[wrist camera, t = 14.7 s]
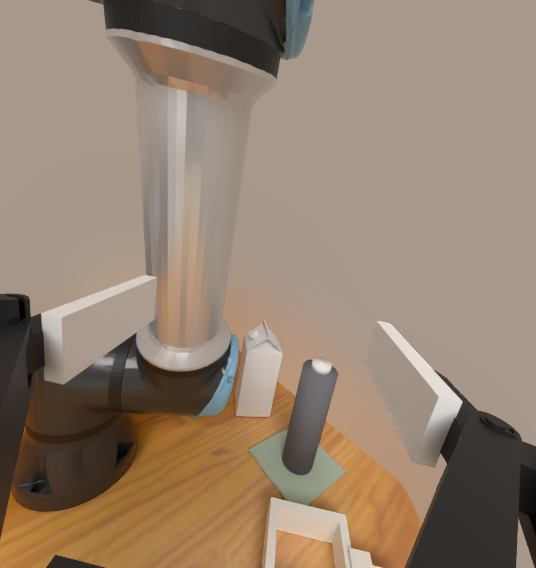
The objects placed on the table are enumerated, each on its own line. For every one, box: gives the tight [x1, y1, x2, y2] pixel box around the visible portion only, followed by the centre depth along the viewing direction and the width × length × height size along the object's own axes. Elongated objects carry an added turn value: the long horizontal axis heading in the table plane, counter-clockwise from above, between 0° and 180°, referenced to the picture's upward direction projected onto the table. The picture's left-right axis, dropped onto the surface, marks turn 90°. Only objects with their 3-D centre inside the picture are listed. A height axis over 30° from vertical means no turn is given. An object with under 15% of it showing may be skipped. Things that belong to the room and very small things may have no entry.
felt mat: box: [249, 428, 346, 506], centre depth 45 cm, size 12×12×1 cm
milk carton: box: [235, 319, 283, 417], centre depth 54 cm, size 7×7×19 cm
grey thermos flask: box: [282, 357, 338, 475], centre depth 43 cm, size 5×5×19 cm
